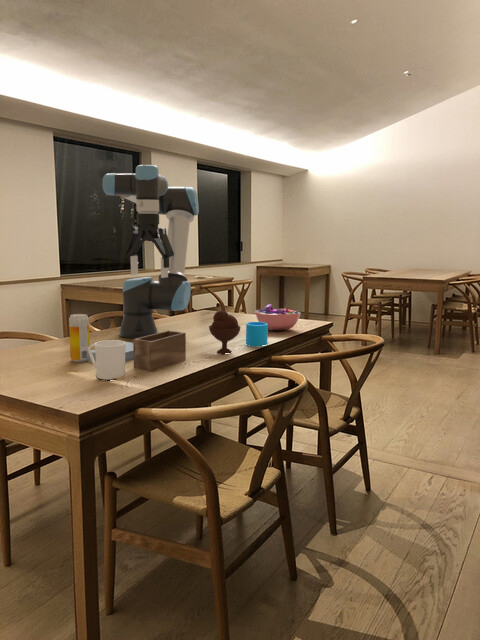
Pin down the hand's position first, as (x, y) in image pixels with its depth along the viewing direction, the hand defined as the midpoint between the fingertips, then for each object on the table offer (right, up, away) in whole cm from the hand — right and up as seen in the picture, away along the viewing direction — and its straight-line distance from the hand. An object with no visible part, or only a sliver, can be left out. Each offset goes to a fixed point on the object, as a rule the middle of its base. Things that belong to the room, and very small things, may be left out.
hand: (149, 276), depth 184 cm
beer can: (-21, -28, -8) cm, 37 cm away
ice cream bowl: (+26, -27, +5) cm, 38 cm away
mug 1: (-7, -32, -28) cm, 43 cm away
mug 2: (+38, -24, +21) cm, 50 cm away
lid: (-8, -27, -7) cm, 29 cm away
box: (+6, -30, -15) cm, 34 cm away
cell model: (+47, -20, +49) cm, 71 cm away
